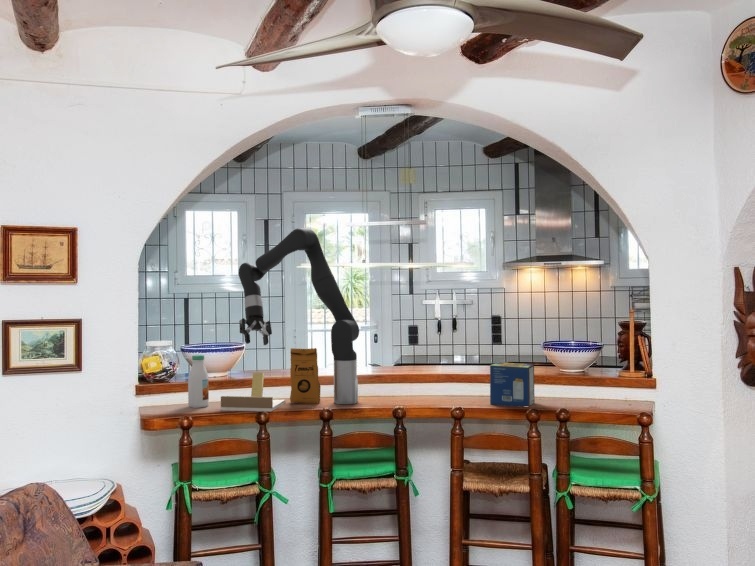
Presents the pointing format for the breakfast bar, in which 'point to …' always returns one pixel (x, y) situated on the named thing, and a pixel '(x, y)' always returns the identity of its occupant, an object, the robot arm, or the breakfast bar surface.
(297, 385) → the coffee package
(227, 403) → the board
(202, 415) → the breakfast bar surface
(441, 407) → the breakfast bar surface
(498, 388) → the protein box
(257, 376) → the bar
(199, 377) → the milk bottle
